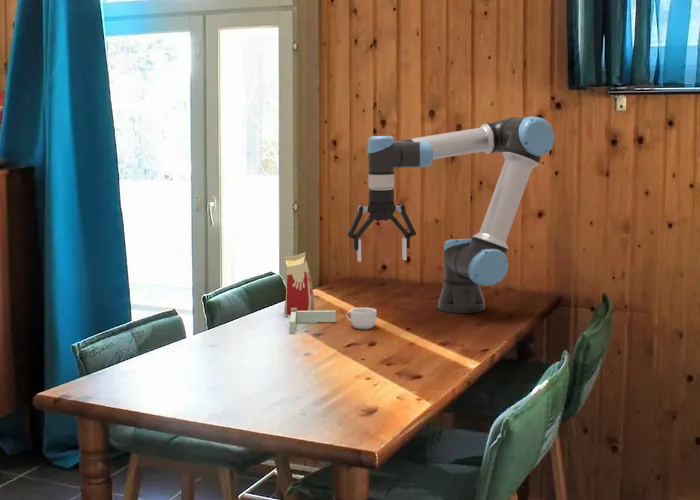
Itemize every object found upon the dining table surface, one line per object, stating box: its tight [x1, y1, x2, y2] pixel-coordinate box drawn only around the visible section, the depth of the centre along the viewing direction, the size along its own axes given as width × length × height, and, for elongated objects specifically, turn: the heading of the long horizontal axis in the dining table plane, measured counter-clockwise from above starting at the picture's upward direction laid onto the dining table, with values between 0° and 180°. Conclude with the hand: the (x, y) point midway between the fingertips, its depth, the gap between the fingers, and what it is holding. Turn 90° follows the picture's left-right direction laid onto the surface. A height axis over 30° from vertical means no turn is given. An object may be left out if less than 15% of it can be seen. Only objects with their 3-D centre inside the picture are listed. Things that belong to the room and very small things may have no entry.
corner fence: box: [289, 308, 337, 334], centre depth 266 cm, size 14×15×4 cm
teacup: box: [345, 307, 377, 330], centre depth 266 cm, size 10×8×5 cm
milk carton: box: [282, 252, 316, 317], centre depth 283 cm, size 9×9×20 cm
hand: (381, 260), depth 266 cm, fingers open, 13 cm apart
